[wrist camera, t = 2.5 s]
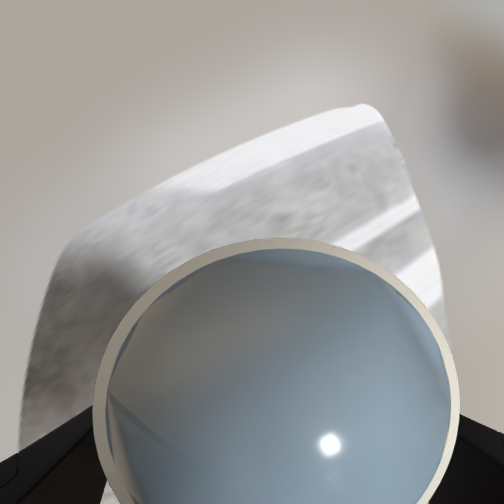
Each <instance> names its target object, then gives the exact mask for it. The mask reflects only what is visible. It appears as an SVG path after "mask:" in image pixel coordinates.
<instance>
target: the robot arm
mask: <svg viewBox="0 0 504 504" xmlns="http://www.w3.org/2000/svg"><path fill="white" fill-rule="evenodd" d="M92 410H93V405H92V406H90V407H89V408H87V409H86V410H84V411H83V412H81V413H80V414H78V415H77V416H75V417H74V418H72V419H71V420H69V421H67V422H66V423H64V424H63V425H61V426H60V427H58V428H57V429H55V430H53V431H52V432H50V433H49V434H47V435H45V436H44V437H42V438H41V439H39V440H37V441H36V442H34V443H33V444H31V445H29V446H28V447H26V448H24V449H23V450H21V451H20V452H19V453H16V454H14V455H13V456H11V457H9V458H8V459H6V460H4V461H2V462H1V463H0V504H100V502H101V499H102V495H103V492H104V488H105V485H106V482H107V478H106V476H105V473H104V471H103V468H102V465H101V463H100V460H99V456H98V452H97V448H96V443H95V438H94V430H93V412H92ZM429 504H504V434H503V433H501V432H497V431H496V430H494V429H491V428H489V427H487V426H485V425H482V424H480V423H478V422H476V421H474V420H471V419H469V418H467V417H465V416H463V415H461V414H459V424H458V431H457V437H456V442H455V445H454V449H453V452H452V456H451V459H450V462H449V464H448V467H447V469H446V471H445V473H444V476H443V478H442V480H441V482H440V484H439V485H438V487H437V489H436V490H435V492H434V494H433V495H432V497H431V498H430V500H429Z"/></svg>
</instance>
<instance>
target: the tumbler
mask: <svg viewBox="0 0 504 504" xmlns="http://www.w3.org/2000/svg"><path fill="white" fill-rule="evenodd" d="M459 410H460V398H459V386H458V378H457V374H456V369H455V365H454V361H453V357H452V355H451V352H450V349H449V347H448V344H447V341H446V339H445V337H444V335H443V333H442V331H441V329H440V327H439V326H438V324H437V322H436V320H435V319H434V317H433V316H432V315H431V313H430V312H429V310H428V309H427V307H426V306H425V305H424V304H423V302H422V301H421V300H420V299H419V298H418V297H417V296H416V295H415V293H414V292H413V291H412V290H411V289H410V288H408V287H407V286H406V285H405V284H404V283H403V282H402V281H401V280H399V279H398V278H397V277H396V276H394V275H393V274H392V273H390V272H389V271H387V270H386V269H384V268H383V267H382V266H380V265H378V264H376V263H375V262H373V261H371V260H369V259H367V258H365V257H363V256H362V255H359V254H357V253H354V252H352V251H349V250H347V249H344V248H341V247H338V246H334V245H330V244H327V243H323V242H318V241H311V240H305V239H294V238H269V239H255V240H250V241H245V242H239V243H234V244H231V245H227V246H224V247H221V248H217V249H214V250H211V251H209V252H207V253H204V254H202V255H200V256H198V257H195V258H193V259H191V260H189V261H187V262H186V263H184V264H182V265H181V266H179V267H177V268H176V269H174V270H172V271H171V272H169V273H168V274H167V275H165V276H164V277H163V278H161V279H160V280H159V281H158V282H156V283H155V284H154V285H152V286H151V287H150V288H149V289H148V290H147V291H146V292H145V293H144V294H143V295H142V296H141V297H140V298H139V299H138V300H137V301H136V302H135V304H134V305H133V306H132V307H131V309H130V310H129V311H128V313H127V314H126V315H125V316H124V318H123V319H122V320H121V322H120V324H119V325H118V327H117V329H116V331H115V332H114V334H113V336H112V337H111V339H110V341H109V343H108V346H107V348H106V351H105V353H104V355H103V358H102V360H101V363H100V367H99V371H98V375H97V379H96V383H95V388H94V398H93V410H92V412H93V430H94V438H95V443H96V448H97V452H98V456H99V460H100V463H101V465H102V468H103V471H104V473H105V476H106V478H107V481H108V483H109V485H110V487H111V488H112V490H113V492H114V494H115V495H116V497H117V499H118V500H119V502H120V504H427V503H428V502H429V500H430V498H431V497H432V495H433V494H434V492H435V490H436V489H437V487H438V485H439V484H440V482H441V480H442V478H443V476H444V473H445V471H446V469H447V467H448V464H449V462H450V459H451V456H452V452H453V449H454V445H455V442H456V437H457V431H458V424H459Z"/></svg>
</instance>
